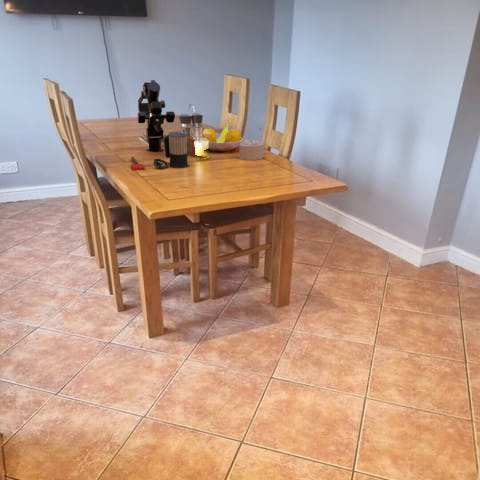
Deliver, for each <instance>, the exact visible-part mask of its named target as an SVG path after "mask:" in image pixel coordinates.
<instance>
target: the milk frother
mask: <svg viewBox="0 0 480 480" xmlns="http://www.w3.org/2000/svg"><path fill="white" fill-rule="evenodd" d="M187 138H188V134H187V133H185V132H168V133H167V135H165V136H164V137H163V146H164V147H163V148H164V157H165V158H167V159H169V162H168V161H166V160H164V159H161V158H154V160H153V165H154V166H155V167H157V168H158V169H166V168H168V167H169V166H170V167H171V168H177V169H178V168H180V169H181V168H186V167H188V166H189V164H188V163H189V162H188V154H187Z"/></svg>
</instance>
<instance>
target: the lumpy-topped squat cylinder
mask: <svg viewBox="0 0 480 480" xmlns="http://www.w3.org/2000/svg"><path fill="white" fill-rule="evenodd" d="M238 148H239V149H238V151H239V152H238V154H239V156H238V159H239V160H243V161H257V160H262V159H264V151H265V150H264V149H265V145H264V143H263V142H261V140H258V139H252V140H250V139H249V138H246V139H243V141H242V143H240V146H239V147H238Z"/></svg>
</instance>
